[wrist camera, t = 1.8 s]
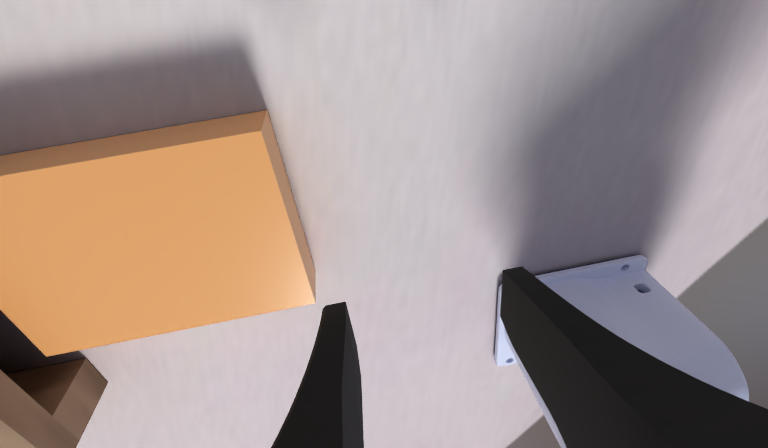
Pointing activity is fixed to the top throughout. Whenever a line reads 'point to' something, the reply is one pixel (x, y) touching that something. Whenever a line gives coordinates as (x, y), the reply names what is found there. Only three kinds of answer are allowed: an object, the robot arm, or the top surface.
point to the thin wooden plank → (149, 234)
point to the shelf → (48, 404)
